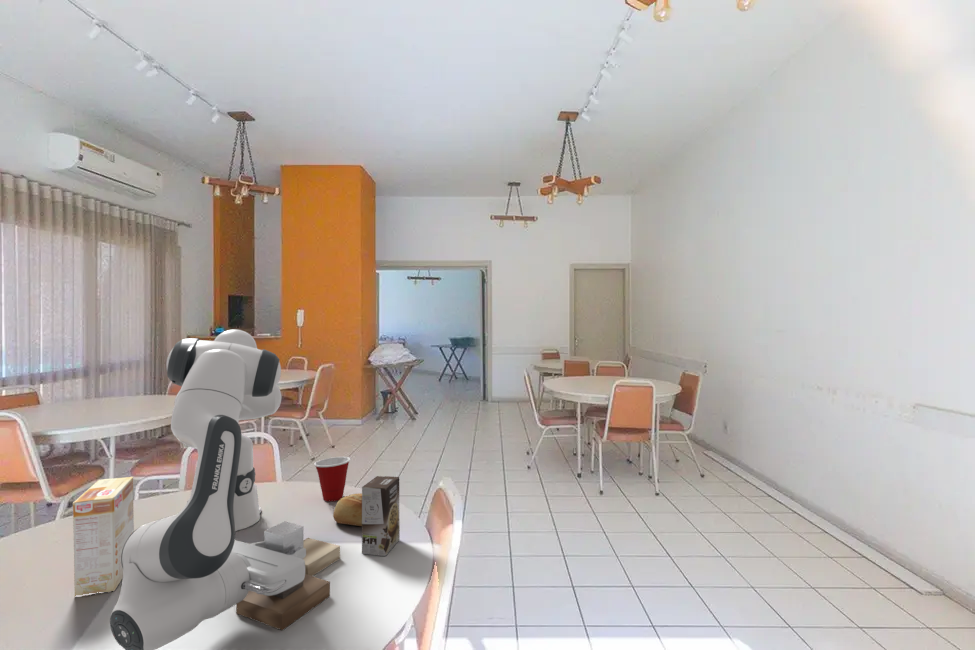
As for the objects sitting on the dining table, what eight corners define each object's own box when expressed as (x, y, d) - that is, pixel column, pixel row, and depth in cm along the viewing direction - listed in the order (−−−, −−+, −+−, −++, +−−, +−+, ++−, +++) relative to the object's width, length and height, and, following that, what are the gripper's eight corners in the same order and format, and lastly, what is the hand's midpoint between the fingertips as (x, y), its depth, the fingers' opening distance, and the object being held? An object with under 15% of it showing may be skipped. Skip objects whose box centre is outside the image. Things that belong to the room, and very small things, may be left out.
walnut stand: (236, 613, 94) (236, 597, 94) (286, 582, 105) (286, 568, 105) (282, 630, 89) (282, 613, 89) (329, 596, 100) (329, 581, 100)
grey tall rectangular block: (264, 592, 96) (264, 531, 95) (284, 579, 100) (284, 521, 100) (283, 599, 94) (283, 536, 93) (303, 585, 98) (303, 526, 98)
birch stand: (274, 569, 111) (274, 555, 111) (307, 550, 120) (307, 537, 120) (307, 579, 106) (307, 565, 106) (340, 558, 115) (340, 545, 115)
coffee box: (386, 556, 116) (386, 488, 116) (360, 554, 118) (360, 486, 117) (400, 539, 125) (400, 476, 125) (376, 537, 127) (376, 474, 126)
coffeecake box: (98, 564, 113) (97, 479, 113) (136, 558, 116) (135, 475, 115) (72, 599, 99) (70, 502, 99) (115, 591, 102) (113, 497, 101)
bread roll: (373, 535, 128) (373, 504, 128) (323, 527, 133) (323, 498, 133) (391, 520, 137) (391, 492, 137) (344, 514, 142) (344, 486, 142)
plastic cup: (331, 490, 161) (330, 453, 161) (357, 495, 157) (357, 457, 157) (306, 501, 151) (306, 462, 151) (334, 507, 147) (333, 466, 147)
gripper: (267, 576, 81) (328, 541, 93) (186, 550, 89) (251, 522, 102) (267, 614, 81) (328, 574, 93) (186, 585, 89) (251, 552, 102)
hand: (287, 547), depth 98 cm, fingers open, 7 cm apart
